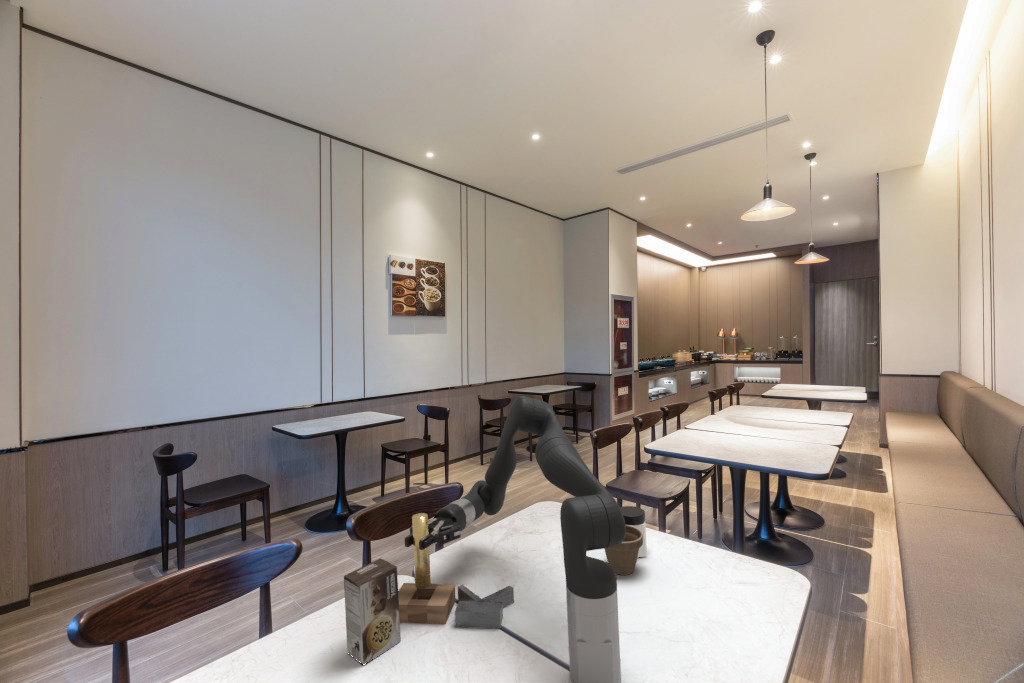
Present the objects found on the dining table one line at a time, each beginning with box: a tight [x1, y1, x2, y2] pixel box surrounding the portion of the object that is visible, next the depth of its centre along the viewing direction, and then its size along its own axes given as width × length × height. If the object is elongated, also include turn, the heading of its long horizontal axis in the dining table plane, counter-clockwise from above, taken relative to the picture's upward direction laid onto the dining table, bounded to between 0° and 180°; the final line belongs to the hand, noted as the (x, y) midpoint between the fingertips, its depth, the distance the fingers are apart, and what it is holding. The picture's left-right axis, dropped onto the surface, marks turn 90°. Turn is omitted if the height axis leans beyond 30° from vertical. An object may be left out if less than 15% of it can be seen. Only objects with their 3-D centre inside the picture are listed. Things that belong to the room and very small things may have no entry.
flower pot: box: [603, 525, 643, 576], centre depth 119 cm, size 12×11×10 cm
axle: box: [411, 512, 432, 589], centre depth 104 cm, size 4×4×16 cm
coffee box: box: [343, 558, 402, 664], centre depth 92 cm, size 9×6×16 cm
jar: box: [619, 505, 648, 559], centre depth 129 cm, size 9×8×12 cm
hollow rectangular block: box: [398, 582, 457, 625], centre depth 104 cm, size 9×13×4 cm
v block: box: [454, 584, 515, 630], centre depth 103 cm, size 11×14×4 cm
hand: (413, 544), depth 102 cm, fingers closed on axle, 3 cm apart
